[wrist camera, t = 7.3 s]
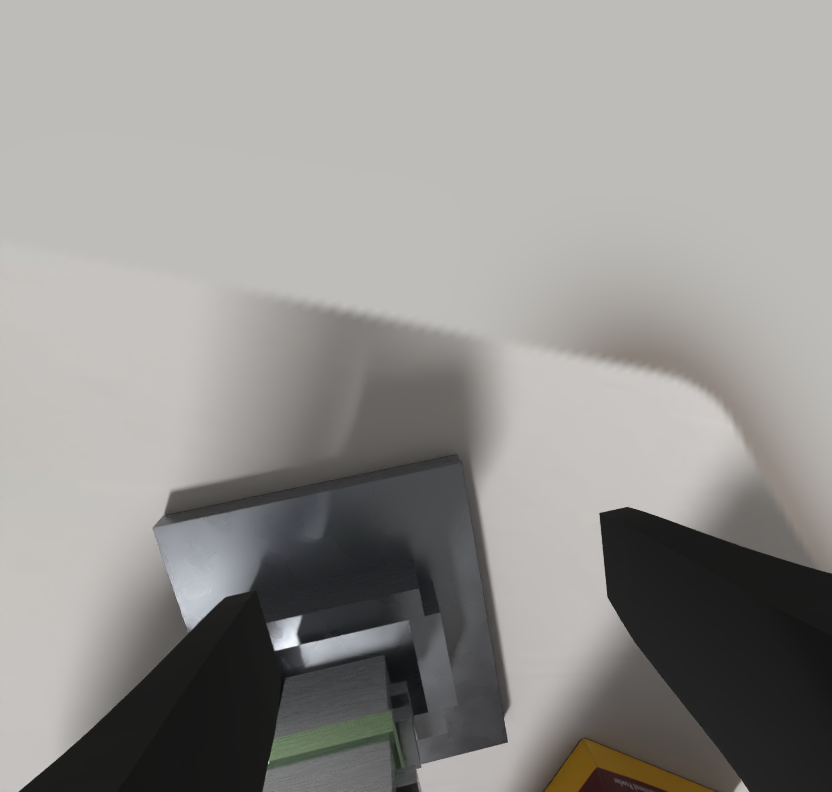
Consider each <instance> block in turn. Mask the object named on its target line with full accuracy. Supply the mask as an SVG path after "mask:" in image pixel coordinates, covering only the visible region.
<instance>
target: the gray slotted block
mask: <svg viewBox="0 0 832 792" xmlns="http://www.w3.org/2000/svg"><path fill="white" fill-rule="evenodd" d="M417 739H418V737H417V729H416V723H415V719H414V714H413V710H412V705H411V701H410V696H409V691H408V687H407V682H406V681H402V682H398V683H394V684H391V682H390V678H389V673H388V669H387V665H386V660H385V656H384V655H381V656H377V657H373V658H368V659H364V660H360V661H356V662H351V663H347V664H343V665H339V666H334V667H330V668H326V669H322V670H317V671H313V672H309V673H305V674H300V675H296V676H292V677H288V678H285V683H284V688H283V693H282V698H281V703H280V708H279V713H278V718H277V723H276V730H275V735H274V740H273V745H272V749H271V754H270V759H269V763H268V768H267V772H266V778H265V783H264V788H263V792H421V787H420V783H419V779H418V774H417V770H416V769H418V768H421V762H420V753H419V749H418V744H417Z"/></svg>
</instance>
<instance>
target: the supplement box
mask: <svg viewBox="0 0 832 792" xmlns="http://www.w3.org/2000/svg"><path fill="white" fill-rule="evenodd" d="M544 792H715V791H713V790H710V789H708V788H706V787H703V786H701V785H698V784H696V783H693V782H691V781H688V780H686V779H684V778H681V777H679V776H676V775H674V774H671V773H669V772H667V771H664V770H662V769H659V768H657V767H654V766H652V765H650V764H647V763H645V762H642V761H640V760H637V759H635V758H632V757H630V756H627V755H625V754H622V753H620V752H617V751H615V750H612V749H610V748H607V747H605V746H602V745H600V744H598V743H595V742H593V741H590V740H588V739H585V738H583V739H582V740H581V741H580V743H579V744H578V745H577V747H576V748H575V749H574V751H573V752H572V754H571V755H570V756H569V758H568V759H567V760H566V762H565V763H564V765H563V766H562V767H561V769H560V770H559V772H558V773H557V774H556V776H555V777H554V779H553V780H552V781H551V783H550V784H549V786H548V787H547V788H546V790H545V791H544Z"/></svg>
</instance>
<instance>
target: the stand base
mask: <svg viewBox="0 0 832 792" xmlns="http://www.w3.org/2000/svg"><path fill="white" fill-rule="evenodd" d="M152 529H153V531H154V534H155V537H156V540H157V543H158V546H159V549H160V552H161V555H162V558H163V561H164V564H165V566H166V569H167V572H168V575H169V578H170V581H171V584H172V587H173V590H174V593H175V596H176V599H177V602H178V604H179V607H180V610H181V613H182V616H183V619H184V622H185V625H186V628H187V631H188V634H189V633H190V631H191V630H192V629H193V628H194V627H195V626H196V625H197V624H198V623H199V622H200V621H201V620H202V619H203V618H204V617H205V616H206V615H207V614H208V613H209V612H210V611H211V610H212V609H213V608H214V607H215V606H216V605H217V604H218V603H219V602H221V601H222V600H223V599H224V598H225V597H227V596H232V595H236V594H241V593H245V592H250V591H254V590H256V591H257V594H258V598H259V601H260V604H261V608H262V611H263V615H264V618H265V621H266V625H267V628H268V631H269V635H270V638H271V641H272V645H273V648H274V651H275V655H276V658H277V661H278V665H279V668H280V672H281V683H280V694H279V705H278V713H279V708H280V703H281V698H282V693H283V688H284V683H285V678H288V677H292V676H296V675H300V674H305V673H309V672H313V671H317V670H322V669H326V668H330V667H334V666H339V665H343V664H347V663H351V662H356V661H360V660H364V659H368V658H373V657H377V656H381V655H384V656H385V660H386V665H387V669H388V673H389V678H390V682H391V684H394V683H398V682H402V681H406V682H407V687H408V691H409V696H410V701H411V705H412V710H413V714H414V719H415V723H416V729H417V737H418V739H417V744H418V749H419V753H420V762H421V764H424V763H428V762H432V761H436V760H440V759H444V758H448V757H452V756H456V755H460V754H464V753H468V752H472V751H475V750H479V749H483V748H487V747H491V746H495V745H499V744H503V743H507V742H508V740H507V734H506V728H505V722H504V716H503V710H502V704H501V698H500V692H499V686H498V680H497V674H496V668H495V662H494V656H493V650H492V644H491V638H490V632H489V626H488V620H487V613H486V607H485V601H484V595H483V589H482V583H481V577H480V571H479V565H478V559H477V553H476V547H475V541H474V535H473V529H472V523H471V517H470V511H469V505H468V499H467V493H466V487H465V481H464V475H463V469H462V463H461V461H460V459H459V458H458V456H457V455H452V456H447V457H442V458H438V459H433V460H428V461H423V462H418V463H414V464H409V465H404V466H399V467H395V468H390V469H385V470H380V471H375V472H371V473H366V474H361V475H356V476H352V477H347V478H342V479H337V480H332V481H328V482H323V483H318V484H313V485H309V486H304V487H299V488H294V489H289V490H285V491H280V492H275V493H270V494H266V495H261V496H256V497H251V498H246V499H242V500H237V501H232V502H227V503H223V504H218V505H213V506H208V507H203V508H199V509H194V510H189V511H184V512H180V513H175V514H170V515H165V516H163V517H162V518H161V519H160V520H159V521H158V522H157V524H156V525H155V526H154V527H153V528H152ZM277 718H278V714H277ZM265 778H266V777H265ZM264 783H265V782H264ZM263 788H264V786H263ZM262 792H263V790H262Z"/></svg>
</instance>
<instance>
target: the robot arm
mask: <svg viewBox="0 0 832 792" xmlns="http://www.w3.org/2000/svg"><path fill="white" fill-rule="evenodd" d="M599 514H600V524H601V534H602V545H603V555H604V565H605V576H606V586H607V596H608V599H609V600H610V602H611V604H612V606H613V607H614V609H615V611H616V612H617V614H618V616H619V617H620V619H621V621H622V622H623V624H624V626H625V627H626V629H627V630H628V632H629V634H630V635H631V637H632V638H633V640H634V642H635V643H636V644H637V646H638V647H639V648H640V649H641V651H642V652H643V653H644V655H645V656H646V657H647V659H648V660H649V661H650V662H651V664H652V665H653V666H654V668H655V669H656V670H657V671H658V673H659V674H660V675H661V677H662V678H663V679H664V680H665V682H666V683H667V684H668V685H669V687H670V688H671V689H672V690H673V692H674V693H675V694H676V695H677V697H678V698H679V699H680V701H681V702H682V703H683V704H684V706H685V707H686V708H687V709H688V711H689V712H690V713H691V714H692V716H693V717H694V718H695V719H696V721H697V722H698V723H699V725H700V726H701V727H702V728H703V730H704V731H705V732H706V733H707V735H708V736H709V737H710V738H711V740H712V741H713V742H714V744H715V745H716V746H717V747H718V749H719V750H720V751H721V753H722V754H723V755H724V757H725V758H726V759H727V761H728V762H729V763H730V765H731V766H732V767H733V769H734V770H735V771H736V773H737V774H738V776H739V777H740V778H741V780H742V781H743V783H744V784H745V786H746V787H747V789H748V790H749V792H832V574H831V573H827V572H823V571H820V570H816V569H813V568H809V567H805V566H802V565H799V564H795V563H792V562H789V561H786V560H782V559H779V558H776V557H773V556H770V555H766V554H763V553H760V552H757V551H754V550H751V549H748V548H745V547H742V546H739V545H736V544H733V543H730V542H727V541H724V540H721V539H719V538H716V537H713V536H710V535H707V534H705V533H702V532H699V531H696V530H694V529H691V528H688V527H685V526H683V525H680V524H677V523H674V522H672V521H669V520H666V519H663V518H661V517H658V516H655V515H652V514H649V513H646V512H643V511H640V510H637V509H633V508H629V507H625V508H621V509H616V510H612V511H607V512H603V513H599ZM280 683H281V672H280V668H279V665H278V661H277V658H276V655H275V651H274V648H273V645H272V641H271V638H270V635H269V631H268V628H267V625H266V621H265V618H264V615H263V611H262V608H261V604H260V601H259V598H258V594H257V591H256V590H254V591H250V592H245V593H241V594H236V595H232V596H227V597H225V598H224V599H223V600H222V601H221V602H219V603H218V604H217V605H216V606H215V607H214V608H213V609H212V610H211V611H210V612H209V613H208V614H207V615H206V616H205V617H204V618H203V619H202V620H201V621H200V622H199V623H198V624H197V625H196V626H195V627H194V628H193V629H192V630H191V631H190V633H189V634H188V635H187V636H186V637H185V638H184V639H183V640H182V641H181V642H180V643H179V644H178V645H177V646H176V647H175V648H174V649H173V650H172V651H171V652H170V653H169V654H168V655H167V656H166V657H165V658H164V659H163V660H162V661H161V662H160V663H159V664H158V665H157V666H156V667H155V668H154V669H153V670H152V671H151V672H150V673H149V674H148V675H147V676H146V677H145V678H144V679H143V680H142V681H141V682H140V683H139V684H138V685H137V686H136V687H135V688H134V689H133V690H132V691H131V692H130V693H129V694H128V695H127V696H126V697H125V698H124V699H122V700H121V701H120V702H119V703H118V704H117V705H116V706H115V707H114V708H113V709H112V710H111V711H110V712H109V713H108V714H107V715H106V716H105V717H104V718H103V719H102V720H100V721H99V722H98V723H97V724H96V725H95V726H94V727H93V728H92V729H91V730H90V731H89V732H88V733H87V734H85V735H84V736H83V737H82V738H81V739H80V740H79V741H78V742H77V743H75V744H74V745H73V746H72V747H71V748H70V749H69V750H67V751H66V752H65V753H64V754H63V755H62V756H61V757H59V758H58V759H57V760H56V761H55V762H54V763H52V764H51V765H50V766H49V767H48V768H46V769H45V770H44V771H43V772H42V773H40V774H39V775H38V776H37V777H36V778H34V779H33V780H32V781H31V782H30V783H29V784H27V785H26V786H25V787H24V788H23V789H21V790H20V791H19V792H262V790H263V786H264V782H265V777H266V772H267V768H268V763H269V759H270V754H271V749H272V745H273V740H274V735H275V730H276V723H277V714H278V705H279V694H280Z"/></svg>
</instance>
